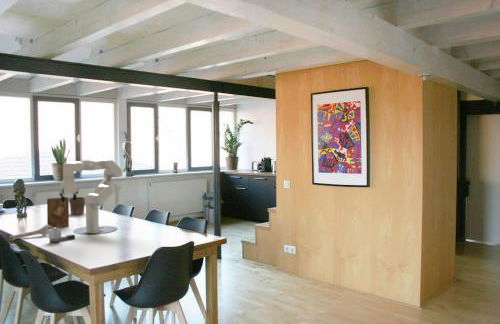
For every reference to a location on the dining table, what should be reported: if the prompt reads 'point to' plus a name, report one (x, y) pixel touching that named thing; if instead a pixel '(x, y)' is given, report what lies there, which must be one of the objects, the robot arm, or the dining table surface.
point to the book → (57, 212)
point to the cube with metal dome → (54, 233)
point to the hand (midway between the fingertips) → (68, 200)
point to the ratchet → (62, 238)
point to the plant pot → (77, 205)
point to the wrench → (32, 233)
